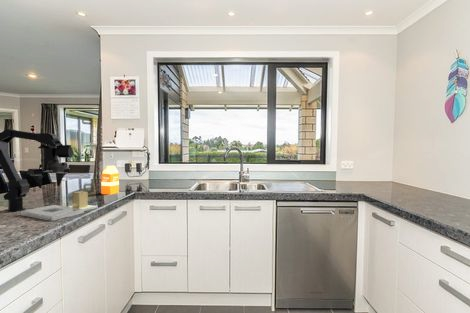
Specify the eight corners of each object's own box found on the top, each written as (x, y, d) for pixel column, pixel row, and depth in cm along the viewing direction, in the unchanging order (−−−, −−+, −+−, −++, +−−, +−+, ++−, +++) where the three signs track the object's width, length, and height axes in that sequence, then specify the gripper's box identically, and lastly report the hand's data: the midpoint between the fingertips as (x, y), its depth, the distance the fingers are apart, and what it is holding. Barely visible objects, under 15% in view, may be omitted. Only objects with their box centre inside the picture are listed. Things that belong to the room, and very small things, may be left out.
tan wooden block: (72, 207, 142) (72, 192, 141) (81, 205, 146) (81, 191, 146) (79, 208, 140) (79, 193, 140) (87, 206, 144) (87, 191, 144)
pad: (63, 209, 141) (63, 207, 141) (80, 205, 150) (80, 203, 150) (79, 211, 136) (79, 209, 136) (96, 207, 146) (96, 206, 146)
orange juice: (118, 192, 195) (119, 165, 194) (110, 194, 187) (110, 166, 186) (110, 191, 197) (110, 165, 197) (101, 193, 189) (101, 165, 188)
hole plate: (20, 215, 127) (20, 211, 127) (54, 208, 142) (54, 204, 142) (51, 220, 119) (51, 216, 119) (83, 213, 134) (83, 209, 134)
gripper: (41, 158, 126) (41, 190, 127) (77, 157, 144) (77, 186, 144) (26, 157, 130) (26, 189, 131) (63, 156, 148) (62, 184, 148)
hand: (49, 187), depth 138 cm, fingers open, 9 cm apart
